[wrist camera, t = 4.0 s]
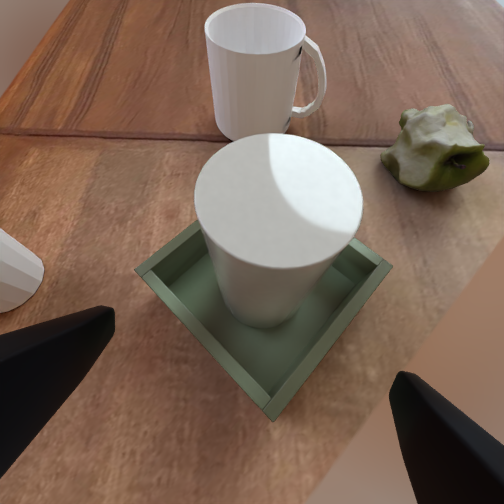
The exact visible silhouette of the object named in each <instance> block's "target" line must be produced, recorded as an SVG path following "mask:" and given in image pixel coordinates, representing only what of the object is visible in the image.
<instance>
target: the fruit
mask: <svg viewBox="0 0 504 504" xmlns="http://www.w3.org/2000/svg"><path fill="white" fill-rule="evenodd" d="M466 122H467V118H466V116H463V115H460V114H459V113H458V112H457V111H456V109H455V107H453V106H451V105H450V104H445V105H441V106H437V107H433V106H429V107H428V108H425V109H424V110H422V111H418V110H417V109H409V110H404V111H403V112H402V114H401V119H400V121H399V124H400V126H401V132H400V134H399V135H398V138H397V140H396V143H395V144H394V145H393V146H391V147H390V148H388V149H387V150H386V151H384V152H383V153H382V154H381V161H382V163H383V164H384V166H385V167H386V168H387V169H388V170H389V171H390V172H391V174H392V175H393V177H394V178H395V179H396V180H397V181H398V182H399V183H400V184H403V185H405V186H407V187H410V188H413V189H416V190H420V191H431V192H436V191H442V190H448V189H451V188H454V187H457V186H460V185H462V184H465V183H468V182H469V181H471V180H472V179H474V178H475V177H477V176H479V175H480V174H482V173H483V172H484V171H485V170H486V169H487V167H488V166H489V158H488V157H487V156H485V155H484V152H483V151H482V150H483V148H484V147H485V146H484V144H481V145H480V144H478V142H477V141H475V140H474V138H473V136H472V135H473V131H474V126H473V124H472V122H471V121H468V122H467V123H468V125H467V123H466Z"/></svg>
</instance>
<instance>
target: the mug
mask: <svg viewBox="0 0 504 504" xmlns="http://www.w3.org/2000/svg"><path fill="white" fill-rule="evenodd" d="M305 33H306V27H305V25H304V22H303V21H302V20H301V19H300V17H298V16H297V15H296V14H294V13H293V12H291V11H289V10H287V9H284V8H282V7H278V6H274V5H270V4H263V3H243V4H235V5H231V6H227V7H225V8H222V9H220V10H218V11H216V12H214V13H213V14H212V15H210V16H209V18H208V19H207V20H206V23H205V35H206V43H207V52H208V60H209V69H210V77H211V85H212V94H213V102H214V110H215V119H216V124H217V126H218V128H219V129H220V131H221V132H222V133H223V134H224V135H225V136H226V137H227V138H229V139H230V140H232V141H236V140H239V139H242V138H245V137H248V136H252V135H258V134H267V133H280V134H284V133H285V132H286V130H287V129H288V127H289V124H290V120H291V116H292V117H297V118H304V117H307V116H309V115H311V113H314V111H316V110H318V108H319V107H320V105H321V102H322V100H323V97H324V95H325V92H326V87H327V85H326V69H325V64H324V60H323V57H322V55H321V52H320V50H319V47H318V45H317V44H315V43H314V42H313V41H312V40H310V39H309V38H308V37H307V36H306V35H305ZM303 49H304V50H305V51H306V52H307V53H308V54H309V55H310V56H311V57H312V58H313V59H314V62H315V65H316V69H317V73H318V94H317V96H316V99H315V100H314V101H313V102H312V103H309V104H308V106H307V107H304V108H300V107H293V103H294V97H295V91H296V85H297V80H298V74H299V68H300V62H301V56H302V50H303Z"/></svg>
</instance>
